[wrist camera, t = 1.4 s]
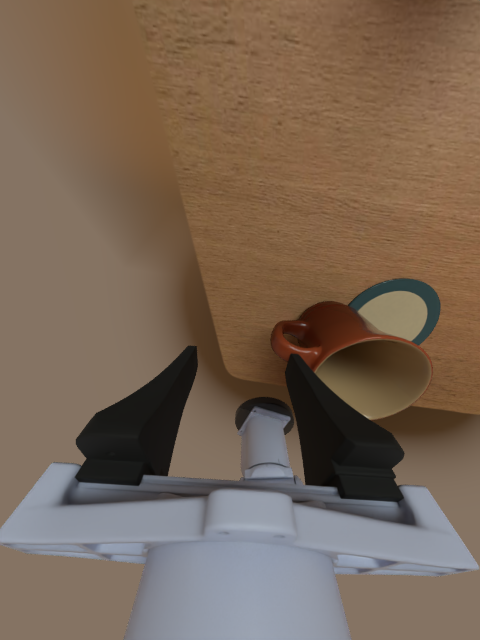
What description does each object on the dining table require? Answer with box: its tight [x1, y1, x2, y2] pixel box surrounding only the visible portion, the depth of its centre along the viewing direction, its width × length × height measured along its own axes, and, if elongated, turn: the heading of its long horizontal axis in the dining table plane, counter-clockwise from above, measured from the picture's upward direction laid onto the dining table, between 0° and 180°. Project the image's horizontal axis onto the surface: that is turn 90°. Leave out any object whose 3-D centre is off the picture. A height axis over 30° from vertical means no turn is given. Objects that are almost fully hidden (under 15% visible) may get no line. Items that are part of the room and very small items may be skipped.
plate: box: [348, 278, 440, 346], centre depth 23 cm, size 12×12×1 cm
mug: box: [270, 301, 433, 420], centre depth 18 cm, size 12×9×10 cm
